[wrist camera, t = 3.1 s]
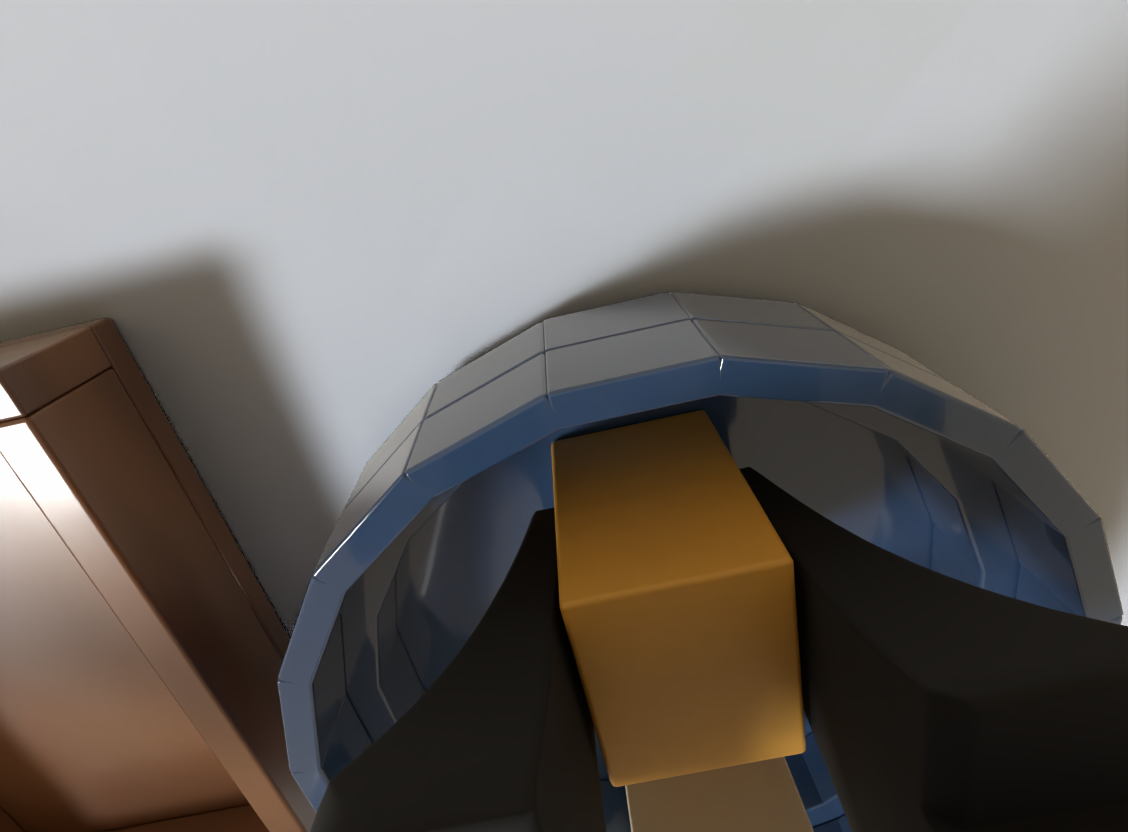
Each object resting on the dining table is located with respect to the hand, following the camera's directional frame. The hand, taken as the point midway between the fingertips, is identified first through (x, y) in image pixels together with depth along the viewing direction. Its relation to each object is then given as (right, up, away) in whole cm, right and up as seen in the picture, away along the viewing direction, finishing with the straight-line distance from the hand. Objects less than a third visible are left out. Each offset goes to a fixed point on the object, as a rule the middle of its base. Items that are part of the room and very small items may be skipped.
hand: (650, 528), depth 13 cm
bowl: (+1, -2, +3) cm, 3 cm away
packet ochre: (0, 0, +1) cm, 1 cm away
